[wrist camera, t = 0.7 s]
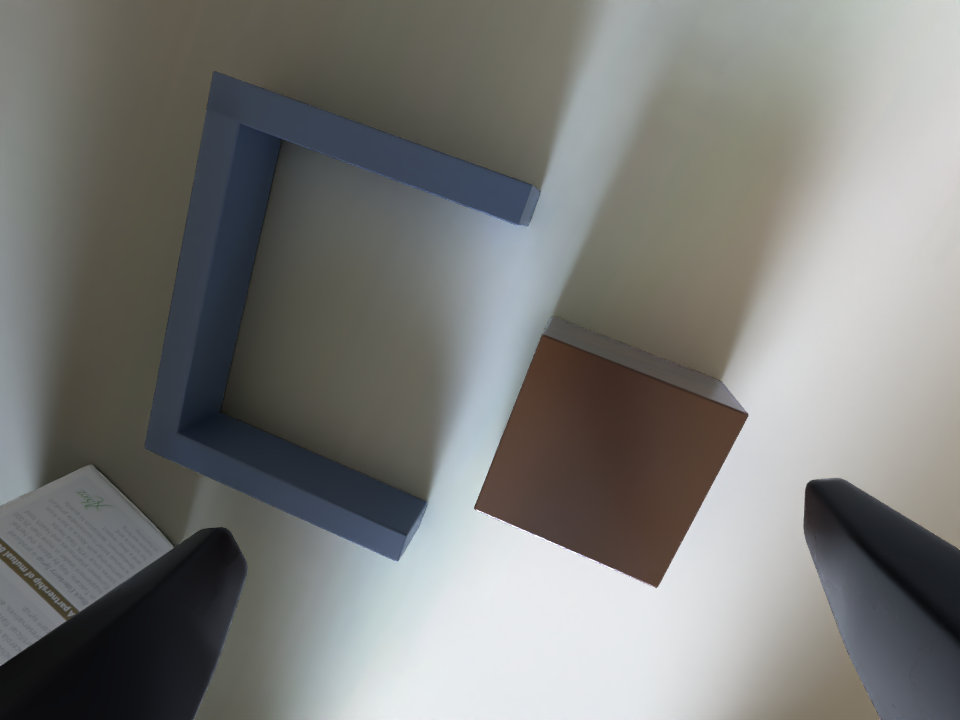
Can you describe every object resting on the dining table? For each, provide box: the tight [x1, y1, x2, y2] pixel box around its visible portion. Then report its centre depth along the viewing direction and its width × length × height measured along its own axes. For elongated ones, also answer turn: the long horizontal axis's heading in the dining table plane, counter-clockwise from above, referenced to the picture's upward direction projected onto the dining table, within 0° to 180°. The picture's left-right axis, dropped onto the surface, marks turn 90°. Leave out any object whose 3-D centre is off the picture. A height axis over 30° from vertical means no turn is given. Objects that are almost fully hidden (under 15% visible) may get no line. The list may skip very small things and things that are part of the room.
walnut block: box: [474, 317, 748, 588], centre depth 18 cm, size 6×6×4 cm
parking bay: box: [145, 71, 541, 562], centre depth 19 cm, size 10×13×2 cm
